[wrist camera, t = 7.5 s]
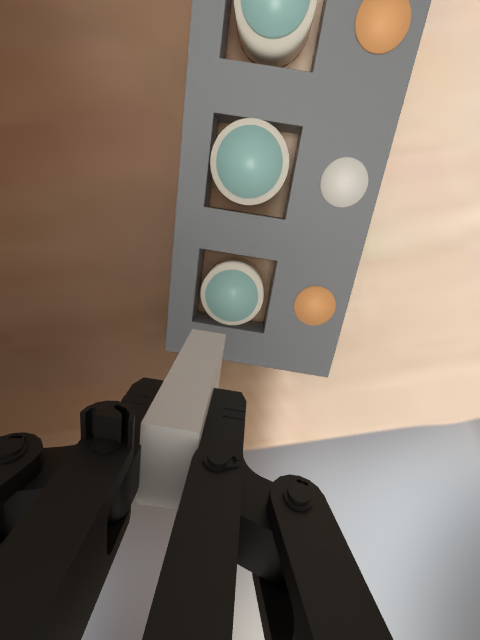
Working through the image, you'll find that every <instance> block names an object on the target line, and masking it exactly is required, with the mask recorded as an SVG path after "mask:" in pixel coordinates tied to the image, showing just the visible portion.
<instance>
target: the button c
mask: <svg viewBox="0 0 480 640" xmlns="http://www.w3.org/2000/svg"><path fill="white" fill-rule="evenodd" d="M316 4H317V0H234V7H235V14H236V21H237V28H238V35H239V39H240V43H241V46H242V48H243V50H244V52H245V53H246V55H247V56H248V57H249V58H250V59H251V60H252V61H253V62H254V63H256V64H261V65H268V66H274V67H282V66H284V65H286V64H288V63H290V62H291V61H292V60H294V59H295V58H296V57H297V56H298V54H299V53H300V52H301V50H302V49H303V47H304V45H305V43H306V41H307V38H308V34H309V31H310V27H311V23H312V20H313V16H314V12H315V8H316Z"/></svg>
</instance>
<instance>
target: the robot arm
mask: <svg viewBox="0 0 480 640" xmlns="http://www.w3.org/2000/svg"><path fill="white" fill-rule="evenodd" d="M225 338H226V334H221V333H215V332H209V331H203V330H196V329H192V330H191V332H190V334H189V336H188V338H187V340H186V341H185V343H184V345H183V347H182V349H181V351H180V352H179V354H178V356H177V358H176V360H175V362H174V363H173V365H172V367H171V369H170V371H169V373H168V374H167V376H166V378H165V380H164V381H162V380H156V379H150V378H142V379H141V380H139V381H137V382H136V383H134V384H133V385H132V386H131V387H130V389H129V390H128V392H127V394H126V395H125V396H124V397H123V399H122V400H121V402H119V401H103V402H97V403H94V404H92V405H90V406H87V407H86V408H85V409H84V410H82V411H81V412H80V423H81V440H80V441H79V442H78V444H76V445H71V446H64V447H52V448H43V444H42V441H41V439H40V438H39V437H37V436H36V435H34V434H30V433H12V434H8V435H4V436H1V437H0V640H81V638H82V636H83V634H84V631H85V629H86V626H87V624H88V621H89V619H90V616H91V614H92V612H93V609H94V607H95V604H96V602H97V599H98V597H99V594H100V592H101V590H102V587H103V585H104V582H105V580H106V577H107V575H108V573H109V570H110V567H111V565H112V563H113V560H114V558H115V555H116V553H117V551H118V548H119V546H120V543H121V541H122V538H123V536H124V533H125V531H126V529H127V526H128V524H129V520H130V514H131V504H132V502H133V499H134V497H135V495H136V493H137V504H143V505H148V506H154V507H161V508H166V509H173V510H177V514H176V518H175V521H174V525H173V529H172V532H171V536H170V540H169V544H168V547H167V551H166V555H165V558H164V562H163V565H162V569H161V572H160V576H159V580H158V584H157V587H156V591H155V594H154V598H153V602H152V605H151V609H150V613H149V616H148V620H147V624H146V627H145V631H144V635H143V638H142V640H232V630H233V616H234V601H235V586H236V572H237V564H239V565H240V566H242V567H244V568H245V569H247V570H249V571H251V572H252V575H253V581H254V586H255V591H256V596H257V602H258V606H259V612H260V617H261V622H262V627H263V632H264V638H265V640H393V638H392V636H391V634H390V632H389V630H388V628H387V626H386V624H385V621H384V619H383V618H382V615H381V613H380V611H379V609H378V607H377V605H376V603H375V601H374V598H373V596H372V594H371V592H370V590H369V588H368V586H367V584H366V582H365V580H364V578H363V575H362V574H361V571H360V569H359V567H358V565H357V563H356V561H355V559H354V557H353V555H352V553H351V550H350V549H349V546H348V545H347V542H346V540H345V538H344V536H343V534H342V532H341V530H340V528H339V526H338V524H337V522H336V519H335V517H334V515H333V513H332V511H331V509H330V507H329V505H328V503H327V501H326V498H325V496H324V495H323V493H322V492H321V491H320V489H319V488H318V487H317V486H316V485H315V484H313V483H312V482H311V481H310V480H307V479H305V478H303V477H301V476H295V475H285V476H280V477H279V478H278V479H276V480H275V481H274V482H272V481H269V480H267V479H265V478H263V477H261V476H259V475H258V474H256V473H255V472H253V471H252V470H251V469H250V468H249V467H248V465H247V464H246V462H245V460H244V458H243V442H244V428H245V414H246V413H245V412H246V400H245V398H244V396H243V394H242V393H241V392H237V391H230V390H224V389H218V386H219V379H220V372H221V365H222V358H223V351H224V344H225Z"/></svg>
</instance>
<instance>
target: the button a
mask: <svg viewBox="0 0 480 640" xmlns="http://www.w3.org/2000/svg"><path fill="white" fill-rule="evenodd" d="M201 301H202V304H203V307H204V309H205V310H206V312H207V313H208V314H209V315H210V316H211V317H212V318H213V319H215V320H216V321H218V322H220V323H223V324H226V325H240V324H243V323H246V322H248V321H249V320H251V319H252V318H253V317H254V316H255V315H256V314H257V313H258V312H259V310H260V308H261V306H262V303H263V279H262V276H261V273H260V272H259V270H258V269H257V267H256V266H255V265H254V264H252V263H251V262H249V261H248V260H245V259H242V258H236V257H234V258H227V259H224V260H222V261H220V262H219V263H217V264H216V265H215V266H214V267H213V268H212V270H211V271H210V272H209V274H208V275H207V276H206V278H205V279H204V281H203V284H202V287H201Z"/></svg>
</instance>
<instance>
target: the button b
mask: <svg viewBox="0 0 480 640" xmlns="http://www.w3.org/2000/svg"><path fill="white" fill-rule="evenodd" d="M210 166H211V173H212V176H213V179H214V182H215V184H216V186H217V187H218V189H219V190H220V191H221V193H222V194H223V195H225V196H226V197H227V198H228V199H230V200H232V201H233V202H236V203H238V204H243V205H256V204H260V203H263V202H265V201H267V200H269V199H270V198H272V197H273V196H274V195H275V194H276V193H277V192H278V191H279V190H280V188H281V187H282V185H283V183H284V181H285V179H286V177H287V173H288V169H289V152H288V148H287V145H286V143H285V140H284V138H283V137H282V135H281V134H280V132H279V131H278V130H277V129H276V128H275V127H274V126H272V125H271V124H269V123H268V122H266V121H263V120H261V119H256V118H245V119H240V120H237V121H235V122H233V123H231V124H230V125H228V126H227V127H226V128H225V129H224V130H223V131H222V132H221V133H220V134H219V136H218V137H217V139H216V141H215V143H214V145H213V148H212V151H211V158H210Z"/></svg>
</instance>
